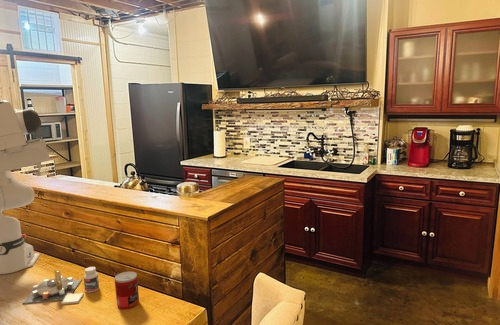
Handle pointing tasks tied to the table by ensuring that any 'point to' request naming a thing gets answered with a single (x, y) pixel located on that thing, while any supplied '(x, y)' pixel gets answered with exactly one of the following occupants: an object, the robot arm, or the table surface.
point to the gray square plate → (52, 298)
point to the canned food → (126, 290)
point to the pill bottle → (91, 279)
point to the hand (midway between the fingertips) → (25, 179)
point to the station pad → (72, 298)
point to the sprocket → (53, 286)
